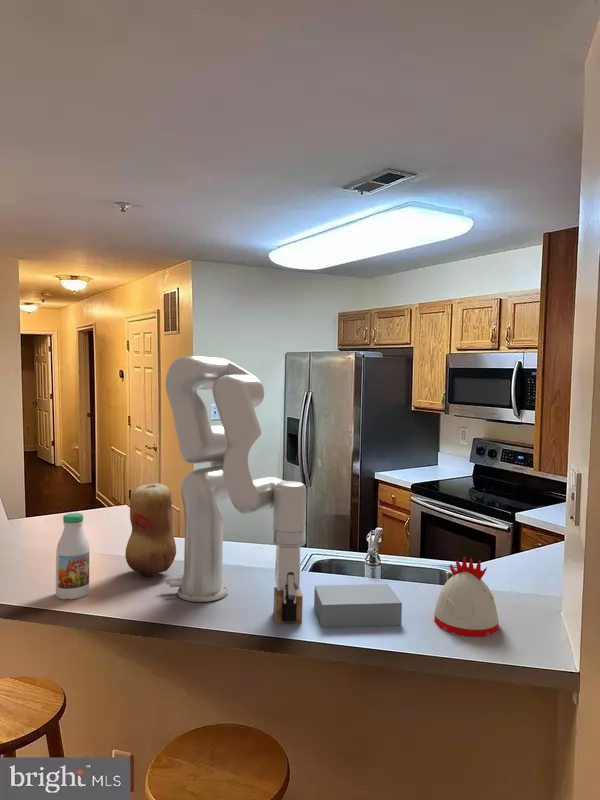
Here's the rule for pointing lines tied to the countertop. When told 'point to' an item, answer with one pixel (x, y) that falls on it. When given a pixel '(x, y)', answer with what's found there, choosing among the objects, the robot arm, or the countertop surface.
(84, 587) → the milk bottle
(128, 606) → the countertop surface
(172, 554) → the butternut squash
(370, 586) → the block
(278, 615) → the walnut cube
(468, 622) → the kitchen timer
